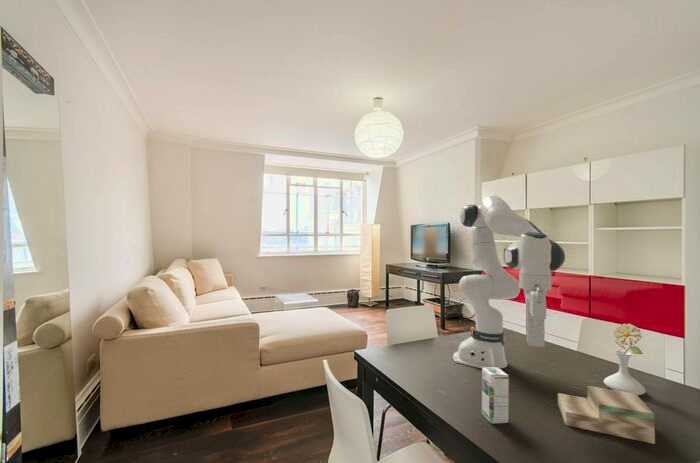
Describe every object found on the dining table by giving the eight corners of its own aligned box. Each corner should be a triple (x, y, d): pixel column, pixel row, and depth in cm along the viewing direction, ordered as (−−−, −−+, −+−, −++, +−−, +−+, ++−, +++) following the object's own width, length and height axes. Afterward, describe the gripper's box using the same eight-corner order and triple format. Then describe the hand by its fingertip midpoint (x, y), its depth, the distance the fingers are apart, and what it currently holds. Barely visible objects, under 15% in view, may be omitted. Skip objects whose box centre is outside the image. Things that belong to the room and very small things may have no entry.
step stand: (566, 425, 91) (565, 398, 91) (557, 405, 102) (557, 380, 102) (655, 444, 83) (654, 414, 83) (636, 420, 94) (635, 393, 94)
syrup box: (481, 413, 97) (480, 367, 98) (498, 412, 98) (498, 366, 98) (490, 424, 92) (490, 375, 92) (509, 423, 92) (509, 374, 93)
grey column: (528, 345, 97) (528, 300, 98) (526, 340, 101) (526, 298, 102) (544, 347, 96) (544, 302, 96) (542, 342, 100) (542, 299, 100)
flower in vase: (595, 383, 118) (594, 317, 118) (626, 383, 118) (625, 317, 118) (625, 401, 105) (623, 327, 105) (659, 401, 104) (658, 327, 105)
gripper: (552, 288, 88) (552, 337, 88) (541, 279, 107) (542, 319, 106) (526, 287, 91) (527, 334, 91) (521, 278, 109) (521, 317, 109)
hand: (535, 326), depth 99 cm, fingers closed on grey column, 4 cm apart
